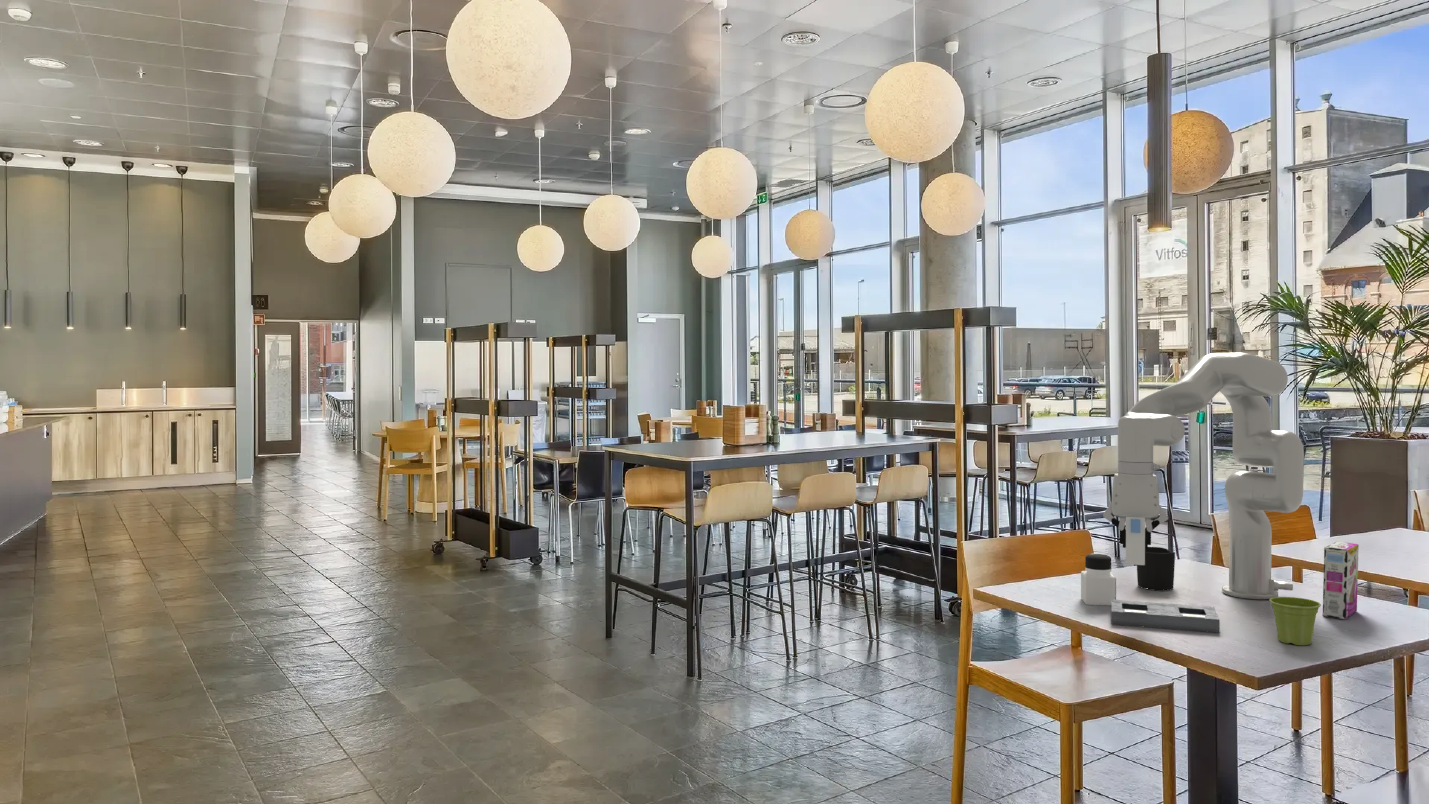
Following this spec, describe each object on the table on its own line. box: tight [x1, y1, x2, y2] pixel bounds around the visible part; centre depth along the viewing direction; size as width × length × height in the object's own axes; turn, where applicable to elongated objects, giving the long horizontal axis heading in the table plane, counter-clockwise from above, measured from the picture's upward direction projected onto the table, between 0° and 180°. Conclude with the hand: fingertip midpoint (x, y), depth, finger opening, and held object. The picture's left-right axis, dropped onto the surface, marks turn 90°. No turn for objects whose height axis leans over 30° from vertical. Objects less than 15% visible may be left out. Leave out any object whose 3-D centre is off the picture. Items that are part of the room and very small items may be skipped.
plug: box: [1125, 517, 1146, 566], centre depth 222 cm, size 4×5×11 cm
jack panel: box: [1110, 599, 1221, 634], centre depth 221 cm, size 22×12×3 cm, turn 68°
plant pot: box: [1268, 596, 1322, 646], centre depth 204 cm, size 9×9×9 cm
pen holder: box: [1136, 546, 1176, 591], centre depth 255 cm, size 9×9×10 cm
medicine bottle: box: [1080, 553, 1117, 607], centre depth 240 cm, size 7×7×12 cm
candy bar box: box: [1322, 541, 1360, 620], centre depth 225 cm, size 11×5×16 cm, turn 134°
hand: (1135, 546), depth 223 cm, fingers closed on plug, 4 cm apart
